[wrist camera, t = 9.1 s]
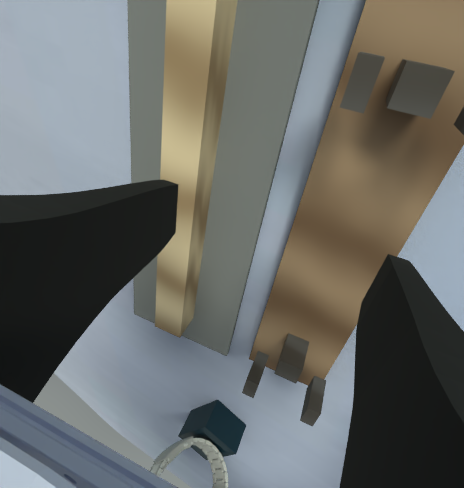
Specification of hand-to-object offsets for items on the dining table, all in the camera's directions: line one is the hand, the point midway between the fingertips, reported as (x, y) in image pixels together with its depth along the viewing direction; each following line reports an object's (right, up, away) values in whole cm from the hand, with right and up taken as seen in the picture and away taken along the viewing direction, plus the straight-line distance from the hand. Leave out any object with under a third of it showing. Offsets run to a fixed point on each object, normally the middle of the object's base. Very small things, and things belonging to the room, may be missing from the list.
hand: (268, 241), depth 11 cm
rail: (-4, +3, +11) cm, 12 cm away
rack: (+5, 0, +9) cm, 11 cm away
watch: (-3, -20, +26) cm, 32 cm away
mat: (-4, +4, +11) cm, 12 cm away
